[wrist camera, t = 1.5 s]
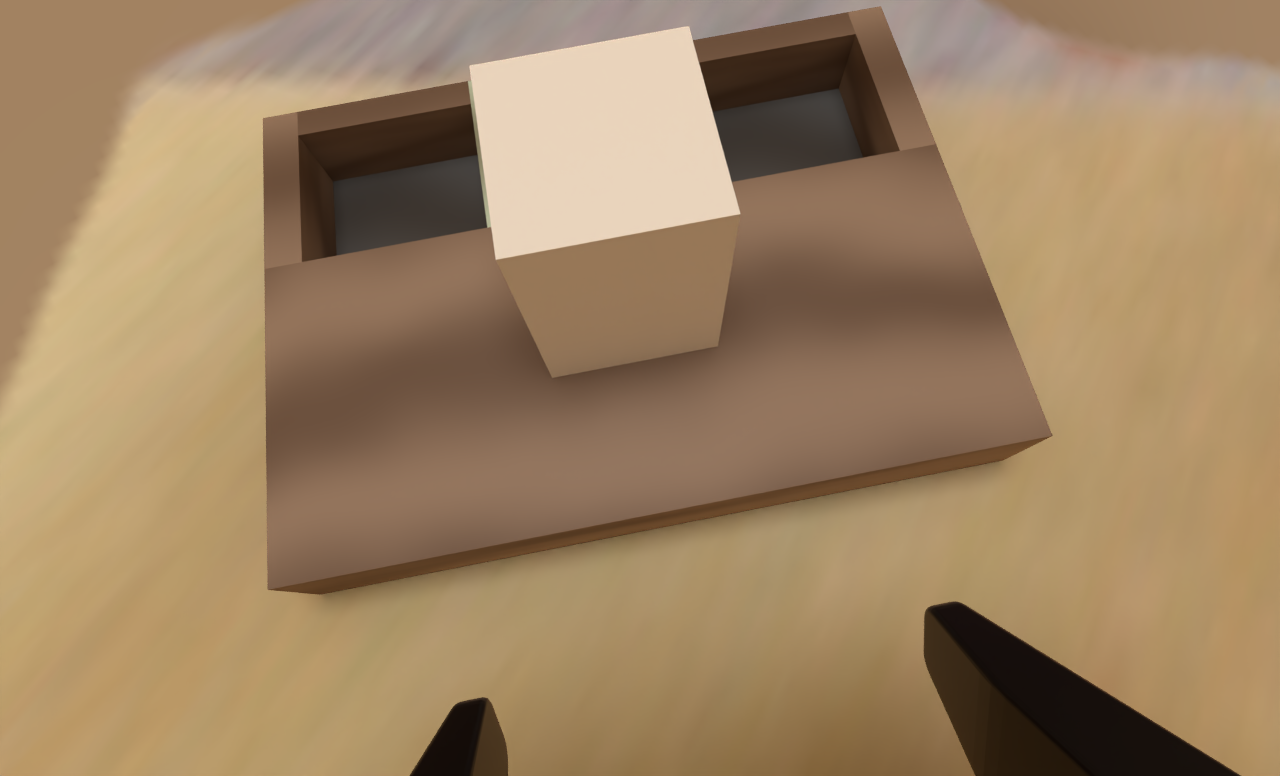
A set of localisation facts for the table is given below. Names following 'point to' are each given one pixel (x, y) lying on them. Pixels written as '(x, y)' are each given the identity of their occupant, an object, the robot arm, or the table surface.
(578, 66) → the block
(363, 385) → the brown compartment tray
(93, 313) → the table surface
